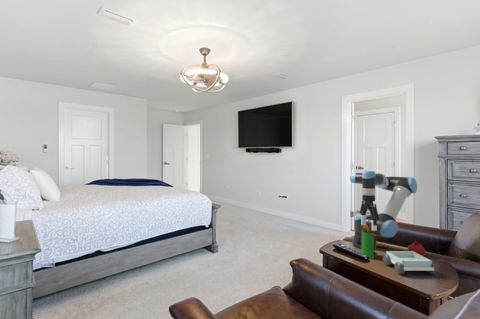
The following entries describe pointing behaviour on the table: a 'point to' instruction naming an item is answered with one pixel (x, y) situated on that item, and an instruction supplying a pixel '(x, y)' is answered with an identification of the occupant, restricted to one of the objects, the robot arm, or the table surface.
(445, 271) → the table surface
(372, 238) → the motor
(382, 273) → the table surface
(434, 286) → the table surface
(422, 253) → the pomegranate
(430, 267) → the chassis
